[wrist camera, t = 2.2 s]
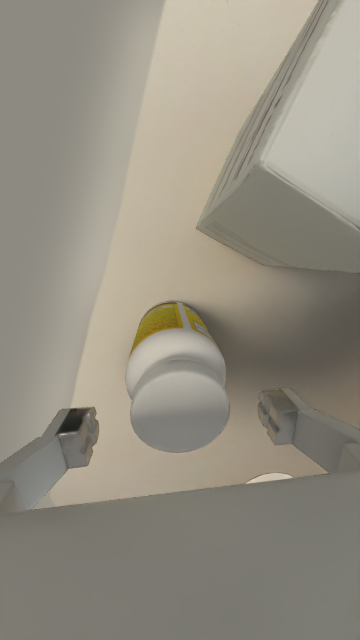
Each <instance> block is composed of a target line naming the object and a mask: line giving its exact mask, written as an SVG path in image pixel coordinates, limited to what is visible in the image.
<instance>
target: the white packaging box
mask: <svg viewBox="0 0 360 640" xmlns="http://www.w3.org/2000/svg"><path fill="white" fill-rule="evenodd" d="M196 228H197V229H198V230H200V231H202V232H203V233H205V234H207V235H209V236H210V237H212V238H214V239H216V240H218V241H219V242H221V243H223V244H225V245H227V246H229V247H231V248H232V249H234V250H236V251H238V252H240V253H242V254H244V255H246V256H247V257H249V258H251V259H253V260H255V261H257V262H259V263H261V264H262V265H271V266H282V267H294V268H305V269H317V270H328V271H339V272H351V273H360V0H319V1H318V3H317V4H316V6H315V8H314V9H313V11H312V13H311V14H310V16H309V18H308V19H307V21H306V23H305V25H304V26H303V28H302V30H301V31H300V33H299V35H298V36H297V38H296V40H295V41H294V43H293V45H292V46H291V48H290V50H289V51H288V53H287V55H286V56H285V58H284V60H283V61H282V63H281V65H280V66H279V68H278V69H277V71H276V73H275V74H274V76H273V78H272V79H271V81H270V82H269V84H268V86H267V87H266V89H265V90H264V92H263V94H262V95H261V97H260V99H259V100H258V102H257V104H256V105H255V107H254V108H253V110H252V112H251V113H250V115H249V116H248V118H247V120H246V121H245V123H244V124H243V126H242V128H241V129H240V131H239V133H238V135H237V137H236V139H235V142H234V144H233V146H232V148H231V150H230V153H229V155H228V157H227V159H226V161H225V163H224V166H223V168H222V170H221V172H220V174H219V176H218V179H217V181H216V183H215V185H214V187H213V190H212V192H211V194H210V196H209V198H208V200H207V203H206V205H205V207H204V209H203V212H202V214H201V216H200V218H199V221H198V223H197V226H196Z"/></svg>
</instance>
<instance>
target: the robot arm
mask: <svg viewBox="0 0 360 640" xmlns="http://www.w3.org/2000/svg"><path fill="white" fill-rule="evenodd" d="M258 398H259V400H260V401H261V402H260V403H259V405H258V416H259V419H260V421H261V423H262V425H263V426H264V427H266V428H267V429H268V431H267V433H268V435H269V437H270V438H271V440H272V442H273V443H274V445H285V444H293V445H294V446H295V447H296V448H298V449H299V450H300V451H302V452H303V453H304V454H306V455H307V456H308V457H310V458H311V459H312V460H313V461H315V462H316V463H317V464H319V465H320V466H321V467H323V468H324V469H325V470H327V471H328V472H329V473H330V474H322V475H314V476H306V477H298V478H289V479H281V480H273V481H265V482H256V483H248V484H240V485H232V486H223V487H215V488H207V489H199V490H190V491H182V492H174V493H166V494H158V495H149V496H141V497H133V498H125V499H117V500H108V501H100V502H92V503H84V504H75V505H67V506H59V507H51V508H43V509H35V510H32V508H33V507H34V506H35V505H36V504H37V503H38V502H39V501H40V500H41V499H42V498H43V496H44V495H45V494H46V493H47V492H48V491H49V490H50V489H51V488H52V487H53V486H54V484H55V483H56V482H57V481H58V480H59V479H60V478H61V477H62V476H63V475H64V474H65V472H66V471H67V470H68V469H70V468H78V467H85V466H88V465H89V462H90V459H91V456H92V454H93V449H92V447H93V446H94V445H95V444H96V443H97V440H98V436H99V423H98V421H97V420H96V419H95V416H96V414H97V413H96V409H95V407H82V408H70V409H61V410H60V411H59V412H58V413H57V415H56V416H55V417H54V419H53V420H52V422H51V424H50V425H49V426H48V428H47V429H46V431H45V432H44V434H43V435H42V437H38V438H36V439H35V440H33V441H32V442H30V443H29V444H28V445H26V446H25V447H23V448H22V449H20V450H19V451H17V452H16V453H14V454H13V455H12V456H10V457H9V458H7V459H6V460H4V461H3V462H1V463H0V640H360V430H359V429H357V428H355V427H353V426H350V425H348V424H346V423H344V422H342V421H339V420H337V419H335V418H333V417H331V416H329V415H326V414H324V413H322V412H320V411H318V410H316V409H314V410H312V409H311V408H310V407H309V406H308V405H307V404H306V403H305V402H304V401H303V400H302V399H301V398H300V397H299V396H298V395H297V394H296V393H295V392H294V391H293V390H292V389H291V388H282V389H276V390H266V391H260V392H259V397H258Z"/></svg>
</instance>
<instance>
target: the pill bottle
mask: <svg viewBox="0 0 360 640" xmlns="http://www.w3.org/2000/svg"><path fill="white" fill-rule="evenodd" d="M125 381H126V387H127V391H128V393H129V396H130V398H131V400H132V403H131V410H130V417H131V423H132V427H133V429H134V431H135V433H136V434H137V435H138V437H139V438H140V439H141V440H142V441H143V442H144V443H146V444H147V445H149V446H151V447H153V448H155V449H158V450H161V451H165V452H173V453H179V452H188V451H192V450H196V449H199V448H201V447H203V446H205V445H207V444H209V443H210V442H212V441H213V440H214V439H215V438H216V437H217V436H218V435H219V434H220V433H221V432H222V430H223V429H224V427H225V425H226V423H227V421H228V418H229V412H230V406H229V400H228V397H227V394H226V392H225V389H224V386H225V383H226V365H225V361H224V358H223V356H222V354H221V352H220V350H219V348H218V346H217V345H216V343H215V341H214V340H213V338H212V336H211V335H210V333H209V331H208V330H207V328H206V326H205V325H204V323H203V321H202V320H201V318H200V317H199V315H198V314H197V313H196V312H195V311H194V310H193V309H192V308H191V307H189V306H188V305H186V304H184V303H181V302H175V301H167V302H162V303H159V304H157V305H155V306H153V307H152V308H150V309H149V310H148V311H147V312H146V313H145V315H144V316H143V318H142V320H141V322H140V324H139V327H138V330H137V333H136V337H135V340H134V343H133V346H132V350H131V353H130V356H129V359H128V362H127V367H126V374H125Z"/></svg>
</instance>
